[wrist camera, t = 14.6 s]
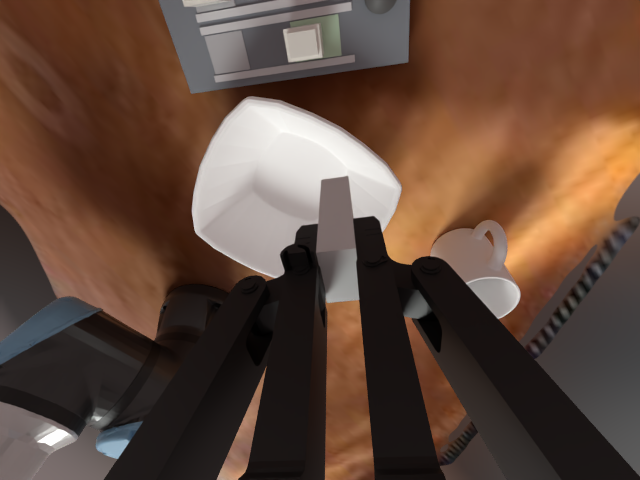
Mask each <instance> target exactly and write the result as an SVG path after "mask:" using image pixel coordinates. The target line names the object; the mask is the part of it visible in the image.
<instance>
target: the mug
mask: <svg viewBox="0 0 640 480" xmlns="http://www.w3.org/2000/svg"><path fill="white" fill-rule="evenodd" d="M488 230H489V231H490V232H491V234H492V236H493V240H494V247H493V246H492V244H491V243H490V241H489V240H488V238H487V237H486V236H485V235H484V234H485V233H486V232H487V231H488ZM506 255H507V238H506V234H505V232H504V230H503V228H502V227H501V226H500V225H499V224H498V223H497V222H496V221H493V220H485V221H482V222H481V223H479V224H478V225H477V226H476V228H475V229H470V228H460V229H455V230H452V231H449V232H447V233H445V234H444V235H442V236H441V237H440V238H438V239H437V240H436V242H435V243H434V245H433V247H432V249H431V256H432V257H438V258H440V259H443V260H444V261H446V262H447V263H448V264H449V265H450V266H451V267H452V268H453V270H454V271H455V272H456V273H457V274H458V275H459V276H460V277H461V278H462V280H463V281H464V282H465V283H466V284H467V285H468V286H469V287H470V289H471V290H472V291H473V292H474V293H475V294H476V295H477V296H478V297H479V299H480V300H481V301H482V302H483V303H484V304H485V305H486V306H487V307H488V309H489V310H490V311H491V312H492V313H493V314H494V315H495V316H496V317H497V319H499V318H501V317H503V316H505V315H507V314H508V313H510V312H511V311H512V310H513V309H514V308H515V307H516V305H517V304H518V302H519V300H520V289H519V287H518V285H517V284H516V282H515V281H514V279H513V278H512V276H511V274H510V273H509V271H508V270H507V268H506V266H505V265H504V262H505V259H506Z"/></svg>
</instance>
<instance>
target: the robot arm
mask: <svg viewBox="0 0 640 480" xmlns="http://www.w3.org/2000/svg"><path fill="white" fill-rule="evenodd" d="M280 258H281V261H282V264H283V267H284V274H283V275H281V276H280V277H278V278H275V279H272V280H269V281H267V282H266V281H265V279H264V278H263V277H261V276H257V275H256V276H249V277H246V278H244V279H242V280H240V281H239V282H238V283H237V284H236V285H235V286H234V288H233V289H232V291H231V292H230V294H228V293H226V292H224V291H222V290H220V289H217V288H214V287H211V286H206V285H197V284H193V285H185V286H181V287H178V288H176V289H174V290H173V291H171V292H170V294H169V295H168V296H167V298H166V300H165V301H164V303H163V305H162V307H161V311H160V317H159V322H158V328H157V334H156V338H155V340H154V341H153V340H151V339H150V338H148V337H146V336H144V335H143V334H141V333H139V332H138V331H136V330H134V329H132V328H131V327H129V326H127V325H125V324H124V323H122V322H120V321H119V320H117V319H115V318H114V317H112V316H110V315H109V314H107V313H105V312H104V311H103V309H101V308H96V307H94V306H92V305H90V304H88V303H86V302H84V301H82V300H80V299H78V298H76V297H70V296H69V297H62V298H59V299H57V300H55V301H53V302H52V303H50V304H49V305H47V306H46V307H45V308H43V309H42V310H40V311H39V312H38V313H36V315H34V316H33V317H31V318H30V319H29V320H27V321H26V322H25V323H24V324H22V325H21V326H20V327H18V328H17V329H16V330H15V331H13V332H12V333H11V334H10V335H8V336H7V337H6V338H5V339H4V340H2V341H1V342H0V480H32V479H33V477H34V475H35V474H36V473H37V471H38V470H39V469H40V467H41V466H42V464H43V463H44V461H45V460H46V458H47V457H48V456H49V455H50V454H51V453H52V452H54V451H55V450H57V449H60V448H62V447H64V446H66V445H68V444H70V443H72V442H75V441H76V439H77V438H78V437H79V435H80V434H81V432H82V431H83V429H84V428H85V426H86V425H87V426H89V427H92V428H94V429H97V430H99V431H100V432H101V433H100V434H99V435H98V437H97V438H96V439H97V442H96V449H97V450H98V451H99V452H102V453H103V454H104V455H107V456H109V457H113V458H117V461H116V462H115V464H114V465H113V467H112V468H111V470H110V471H109V473H108V474H107V476H106V477H105V479H104V480H216V479H217V477H218V475H219V473H220V470H221V468H222V466H223V464H224V461H225V459H226V457H227V454H228V452H229V450H230V448H231V445H232V443H233V441H234V439H235V436H236V434H237V432H238V429H239V427H240V425H241V423H242V420H243V418H244V416H245V414H246V411H247V409H248V407H249V404H250V402H251V400H252V398H253V395H254V393H255V391H256V389H257V386H258V384H259V382H260V379H261V377H262V375H263V373H264V370H265V368H266V373H265V378H264V383H263V389H262V394H261V399H260V405H259V410H258V415H257V421H256V426H255V431H254V437H253V442H252V447H251V453H250V458H249V463H248V467H247V470H246V472H245V473H244V474H243V475H242V476H241V477H240V478H239V479H238V480H325V429H326V364H327V309H326V305H325V301H326V300H327V303H331V302H342V301H352V300H359V302H360V313H361V324H362V335H363V346H364V357H365V368H366V379H367V390H368V401H369V413H370V424H371V435H372V446H373V457H374V470H375V480H446V479H445V476H444V473H443V472H442V470H441V469H440V466H439V463H438V459H437V455H436V451H435V447H434V443H433V438H432V434H431V430H430V426H429V421H428V417H427V413H426V409H425V404H424V400H423V396H422V392H421V387H420V383H419V379H418V375H417V370H416V366H415V362H414V358H413V353H412V349H411V345H410V341H409V336H408V332H407V328H406V324H405V319H404V316H405V317H411V318H412V320H413V322H414V324H415V326H416V327H417V329H418V331H419V333H420V334H421V336H422V338H423V339H424V341H425V343H426V344H427V346H428V348H429V349H430V351H431V353H432V354H433V356H434V358H435V360H436V361H437V363H438V365H439V366H440V368H441V370H442V371H443V373H444V375H445V376H446V378H447V380H448V381H449V383H450V385H451V387H452V388H453V390H454V392H455V393H456V395H457V397H458V398H459V400H460V402H461V403H462V405H463V407H464V408H465V410H466V412H467V414H468V415H469V417H470V419H471V420H472V422H473V424H474V425H475V427H476V429H477V430H478V432H479V434H480V436H481V437H482V439H483V440H484V442H485V444H486V446H487V447H488V449H489V451H490V452H491V454H492V456H493V457H494V459H495V460H496V463H497V464H498V466H499V468H500V469H501V471H502V473H503V474H504V476H505V478H506V479H507V480H640V476H639V475H638V474H637V473H636V472H635V471H634V470H633V469H632V468H631V466H630V465H629V464H628V463H627V462H626V461H625V460H624V459H623V458H622V456H621V455H620V454H619V453H618V452H617V451H616V450H615V449H614V447H613V446H612V445H611V444H610V443H609V442H608V441H607V440H606V439H605V437H604V436H603V435H602V434H601V433H600V432H599V431H598V430H597V429H596V427H595V426H594V425H593V424H592V423H591V422H590V421H589V420H588V419H587V417H586V416H585V415H584V414H583V413H582V412H581V411H580V410H579V409H578V408H577V406H576V405H575V404H574V403H573V402H572V401H571V400H570V399H569V397H568V396H567V395H566V394H565V393H564V392H563V391H562V390H561V389H560V388H559V386H558V385H557V384H556V383H555V382H554V381H553V380H552V379H551V377H550V376H549V375H548V374H547V373H546V372H545V371H544V370H543V369H542V368H541V366H540V365H539V364H538V363H537V362H536V361H535V360H534V359H533V357H532V356H531V355H530V354H529V353H528V352H527V351H526V350H525V349H524V347H523V346H522V345H521V344H520V343H519V342H518V341H517V340H516V339H515V337H514V336H513V335H512V334H511V333H510V332H509V331H508V330H507V329H506V327H505V326H504V325H503V324H502V323H501V322H500V321H499V320H498V319H497V317H496V316H495V315H494V314H493V313H492V312H491V311H490V310H489V309H488V307H487V306H486V305H485V304H484V303H483V302H482V301H481V300H480V299H479V297H478V296H477V295H476V294H475V293H474V292H473V291H472V290H471V289H470V287H469V286H468V285H467V284H466V283H465V282H464V281H463V280H462V278H461V277H460V276H459V275H458V274H457V273H456V272H455V271H454V270H453V268H452V267H451V266H450V265H449V264H448V263H447V262H446V261H444V260H443V259H440V258H438V257H432V256H426V257H421V258H418V259H416V260H415V261H414V262H413V263H412V265H407V264H401V263H398V262H395V261H393V260H392V259H391V258H390V257H389V256H388V254H387V251H386V246H385V242H384V238H383V234H382V229H381V225H380V221H379V220H378V219H377V218H376V217H375V216H369V217H361V218H354V217H353V209H352V201H351V193H350V185H349V176H344V177H337V178H330V179H323V180H321V190H320V204H319V218H318V224H310V225H302V226H301V227H300V228H299V229H298V230H297V232H296V236H295V242H294V244H291V245H289V246H287V247H286V248H284V249H283V250H282V251H281V253H280ZM266 366H267V367H266Z"/></svg>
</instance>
